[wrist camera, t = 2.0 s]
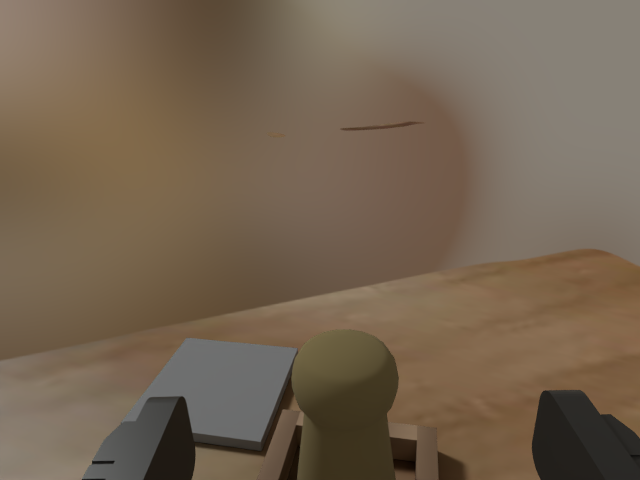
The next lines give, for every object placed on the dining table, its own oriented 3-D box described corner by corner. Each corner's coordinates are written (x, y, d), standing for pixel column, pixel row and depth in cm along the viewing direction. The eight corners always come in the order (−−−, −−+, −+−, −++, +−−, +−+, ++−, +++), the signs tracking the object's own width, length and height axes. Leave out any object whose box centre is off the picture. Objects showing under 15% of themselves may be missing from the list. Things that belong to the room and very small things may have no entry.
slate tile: (123, 431, 32) (120, 422, 32) (188, 345, 41) (186, 337, 41) (261, 450, 30) (260, 441, 30) (298, 356, 39) (297, 348, 39)
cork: (289, 470, 29) (277, 318, 25) (385, 457, 30) (389, 308, 25) (297, 570, 23) (284, 398, 19) (414, 553, 24) (426, 382, 20)
